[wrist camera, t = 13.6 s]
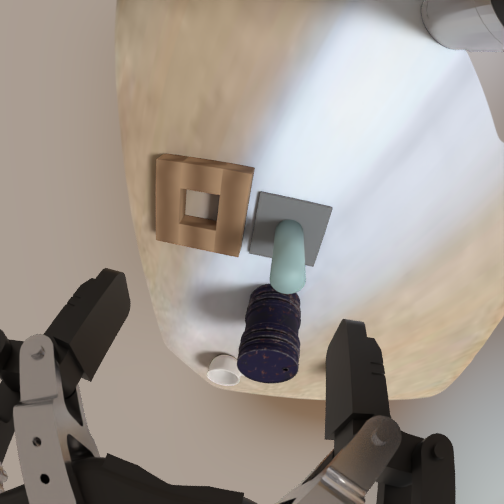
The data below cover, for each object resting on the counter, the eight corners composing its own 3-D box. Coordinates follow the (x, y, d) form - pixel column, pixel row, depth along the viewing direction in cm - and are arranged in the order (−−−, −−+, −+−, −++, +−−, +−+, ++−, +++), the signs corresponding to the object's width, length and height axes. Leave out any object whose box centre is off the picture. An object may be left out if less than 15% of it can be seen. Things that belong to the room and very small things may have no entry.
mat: (332, 207, 43) (332, 208, 42) (313, 264, 49) (313, 266, 49) (260, 191, 43) (260, 192, 43) (249, 251, 49) (249, 253, 49)
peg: (306, 222, 44) (309, 269, 34) (299, 246, 47) (300, 296, 37) (278, 216, 44) (273, 262, 34) (272, 240, 47) (266, 290, 37)
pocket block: (254, 167, 41) (251, 174, 39) (241, 247, 49) (238, 257, 47) (164, 153, 41) (156, 159, 39) (162, 230, 49) (156, 239, 47)
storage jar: (248, 317, 58) (236, 379, 46) (249, 280, 53) (234, 345, 41) (297, 322, 57) (294, 385, 45) (304, 285, 52) (304, 352, 40)
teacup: (216, 367, 71) (211, 385, 66) (208, 350, 67) (202, 368, 62) (254, 369, 69) (251, 387, 64) (248, 350, 65) (245, 369, 60)
